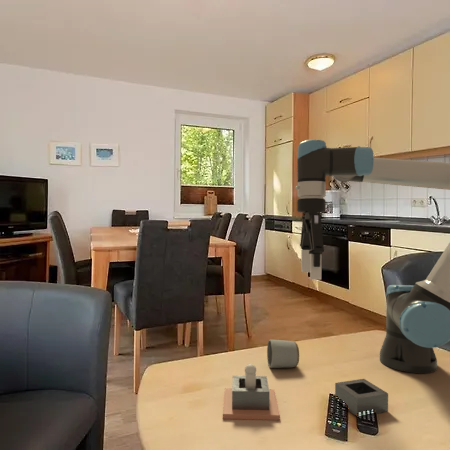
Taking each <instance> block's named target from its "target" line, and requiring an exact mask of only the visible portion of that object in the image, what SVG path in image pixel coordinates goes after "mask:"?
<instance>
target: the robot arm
mask: <svg viewBox="0 0 450 450" xmlns="http://www.w3.org/2000/svg"><path fill="white" fill-rule="evenodd" d="M297 147H298V148H297V161H296V162H297V168H296V169H297V185H296V186H295V187H294V188H295V190H297V198H298V199H297V201H296V207H297V208H296V211H297V212H298V213H301V214H302V213H304V215H302V217H301V221H302V222H301V233H300V242H299V246H300V249H301V255H300V256H301V257H300V258H301V259H300V261H301V264H300V265H301V267H300V268H301V269H300V271H301V273H309V277H310V278H309V280H311V281H312V280H313V281H314V280H315V281H317V280H319V281H321V280H322V268H323V267H322V265H323V264H322V262H323V261H322V259H323V258H322V254H323V253H324V252H325V248H324V247H325V246H324V238H323V237H324V236H323V229H322V215H320V214H319V213H321V214H323V213H325V212H326V199H325V197H326V196H327V195H326V190H327V186H326V185H327V183H326V181H327V180H326V177H333V178H334V179H336V181H339V182H341V183H348V182H355V183H356V182H357V183H368V184H369V183H370V184H381V185H391V186H392V185H394V186H402V187H414V188H425V189H426V188H427V189H437V190H448V191H450V162H446V161H445V162H442V161H427V160H417V159H416V160H414V159H400V158H399V159H398V158H387V157H376V156H375V157H374V150H373V148H371V147H369V146H367V147H366V146H359V145H358V146H351V147H350V146H349V147H327V143H326V141H325V140H322V139H306V140H304V141H301V142H300V143H299V144H298V146H297ZM318 214H319V215H318ZM385 297H386V311H385V312H386V317H385V318H386V321H385V322H386V323H385V324H386V325H385V326H386V331H385V337H384V340H383V341H382V345H381V348H380V351H379V361H380V362H381V363H382V364H383V365H384V366H386V367H388V368H391V369H394V370H397V371H400V372H405V373H413V374H429V373H434V372H436V371H437V370H438V360H437V355H436V353H435V351H434V350H435V349H434V348H440V347H441V346H445V345H446V344H447V343H449V342H450V242H449V243H448V244H447V246H446V248H445V249H444V250H443V252H442V254H441V255H440V257H439V258H438V259H437V261H436V263H435V264H434V266H433V268H432V269H431V270H430V273H429V274H428V275H427V276H426V279H423V280H421V281H416V282H415V284H414V285H413V284H412V285H410V284H408V285H407V284H406V285H405V284H390V285H388V286H387V288H386V293H385Z"/></svg>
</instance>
